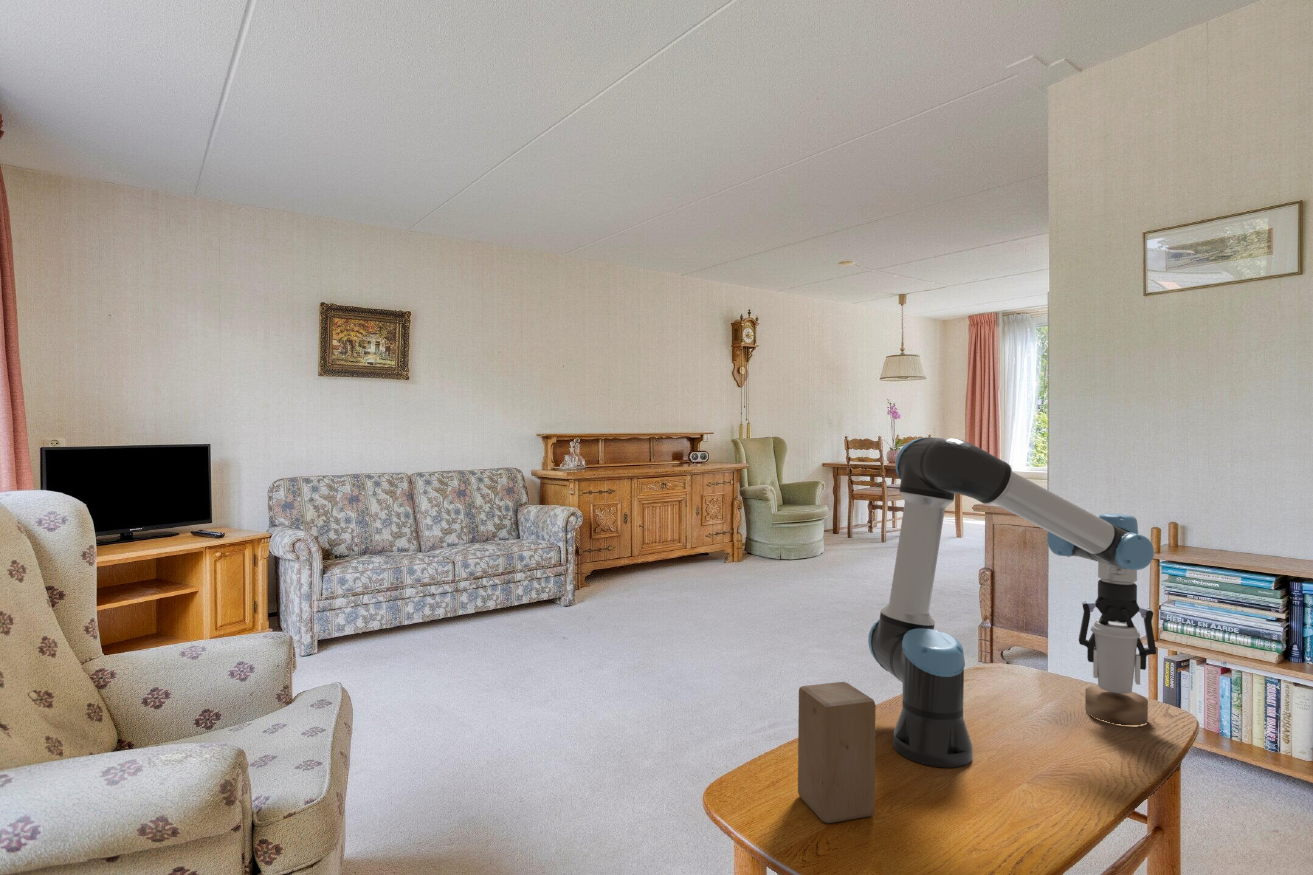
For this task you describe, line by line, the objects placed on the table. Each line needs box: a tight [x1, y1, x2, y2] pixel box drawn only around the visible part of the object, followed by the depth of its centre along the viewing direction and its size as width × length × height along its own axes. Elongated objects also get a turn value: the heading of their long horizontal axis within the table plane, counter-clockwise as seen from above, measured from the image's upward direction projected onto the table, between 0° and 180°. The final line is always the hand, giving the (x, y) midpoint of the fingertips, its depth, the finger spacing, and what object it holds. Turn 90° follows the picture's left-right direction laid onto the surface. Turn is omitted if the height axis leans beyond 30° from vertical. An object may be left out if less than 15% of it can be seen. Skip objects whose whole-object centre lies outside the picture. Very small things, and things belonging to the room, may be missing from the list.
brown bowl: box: [1084, 685, 1149, 725], centre depth 158 cm, size 12×12×5 cm
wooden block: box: [797, 681, 876, 824], centre depth 118 cm, size 10×10×20 cm
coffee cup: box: [1090, 619, 1141, 694], centre depth 158 cm, size 10×10×15 cm
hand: (1115, 679), depth 158 cm, fingers closed on coffee cup, 7 cm apart
